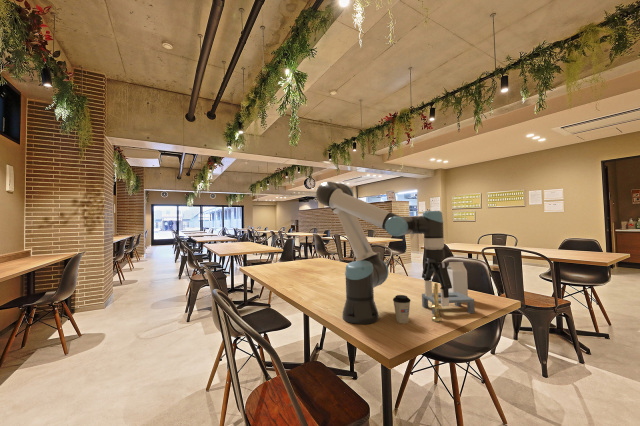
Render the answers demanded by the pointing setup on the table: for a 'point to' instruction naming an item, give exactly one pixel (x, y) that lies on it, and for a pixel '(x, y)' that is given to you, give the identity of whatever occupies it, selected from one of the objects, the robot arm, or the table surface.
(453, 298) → the keyhole plate
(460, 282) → the milk carton
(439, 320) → the brass t bolt
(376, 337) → the table surface
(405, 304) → the coffee cup
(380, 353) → the table surface
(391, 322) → the table surface
